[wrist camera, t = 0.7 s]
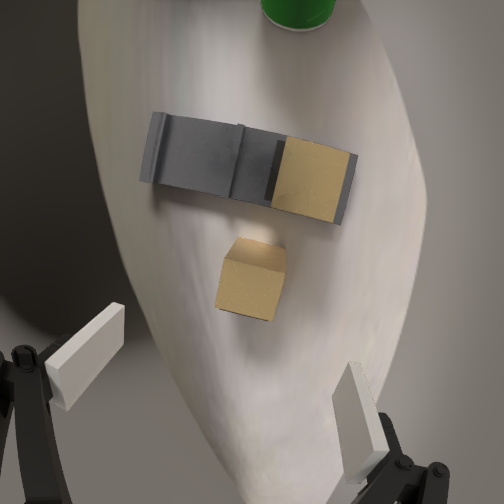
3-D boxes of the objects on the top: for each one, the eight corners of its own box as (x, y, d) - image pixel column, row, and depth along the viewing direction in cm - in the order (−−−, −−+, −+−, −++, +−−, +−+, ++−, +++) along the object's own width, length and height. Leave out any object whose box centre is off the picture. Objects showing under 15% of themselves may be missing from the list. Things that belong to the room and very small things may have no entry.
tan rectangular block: (285, 248, 31) (286, 273, 24) (273, 291, 33) (270, 327, 25) (238, 236, 31) (224, 258, 24) (228, 280, 33) (213, 313, 25)
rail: (164, 116, 29) (118, 98, 19) (353, 156, 28) (386, 150, 18) (151, 179, 31) (102, 185, 21) (336, 221, 30) (361, 245, 20)
